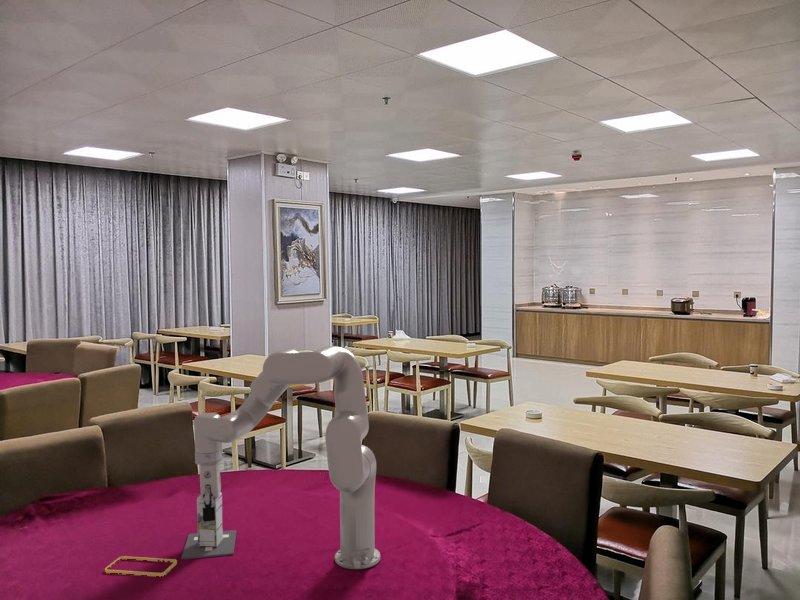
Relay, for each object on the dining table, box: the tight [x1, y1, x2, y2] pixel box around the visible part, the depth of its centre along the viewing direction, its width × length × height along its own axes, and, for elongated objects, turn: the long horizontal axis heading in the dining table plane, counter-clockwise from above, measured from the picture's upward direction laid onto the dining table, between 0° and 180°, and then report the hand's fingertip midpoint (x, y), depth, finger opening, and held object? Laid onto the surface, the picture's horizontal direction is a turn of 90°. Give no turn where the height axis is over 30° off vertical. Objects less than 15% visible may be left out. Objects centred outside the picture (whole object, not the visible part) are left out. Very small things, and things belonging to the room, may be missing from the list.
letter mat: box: [180, 529, 237, 560], centre depth 184 cm, size 16×14×1 cm
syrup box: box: [196, 491, 224, 547], centre depth 184 cm, size 6×6×14 cm
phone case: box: [104, 555, 178, 577], centre depth 171 cm, size 8×17×1 cm, turn 82°
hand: (210, 514), depth 184 cm, fingers open, 9 cm apart
